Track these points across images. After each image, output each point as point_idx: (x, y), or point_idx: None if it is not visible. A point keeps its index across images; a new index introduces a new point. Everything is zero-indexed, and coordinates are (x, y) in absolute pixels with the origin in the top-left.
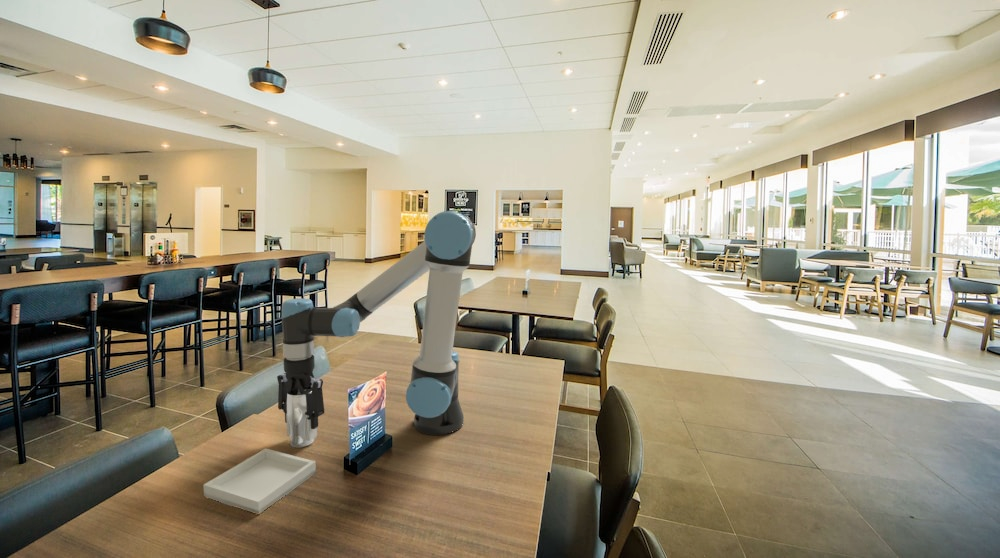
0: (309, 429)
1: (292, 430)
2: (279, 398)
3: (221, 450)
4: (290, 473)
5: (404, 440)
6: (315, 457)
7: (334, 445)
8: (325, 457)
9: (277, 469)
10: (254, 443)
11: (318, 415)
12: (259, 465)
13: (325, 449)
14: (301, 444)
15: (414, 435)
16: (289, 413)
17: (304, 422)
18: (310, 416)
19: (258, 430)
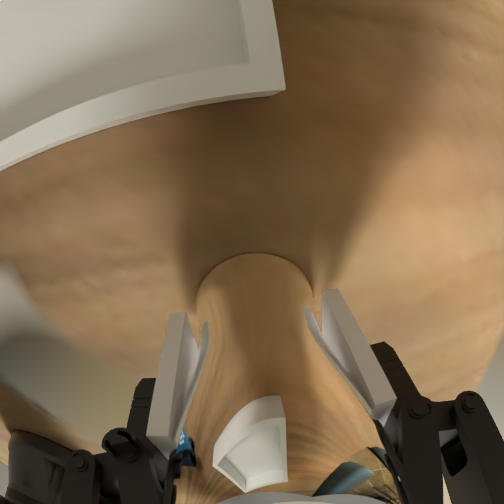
0: (158, 368)
1: (274, 318)
2: (502, 464)
3: (498, 93)
4: (10, 90)
5: (24, 410)
6: (72, 249)
7: (108, 345)
8: (47, 271)
9: (81, 57)
10: (448, 184)
11: (71, 463)
12: (206, 14)
13: (103, 312)
14: (208, 282)
15: (35, 427)
16: (300, 441)
17: (186, 401)
18: (127, 454)
19: (486, 260)
